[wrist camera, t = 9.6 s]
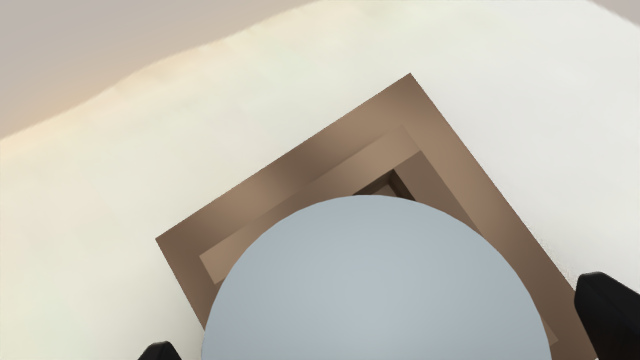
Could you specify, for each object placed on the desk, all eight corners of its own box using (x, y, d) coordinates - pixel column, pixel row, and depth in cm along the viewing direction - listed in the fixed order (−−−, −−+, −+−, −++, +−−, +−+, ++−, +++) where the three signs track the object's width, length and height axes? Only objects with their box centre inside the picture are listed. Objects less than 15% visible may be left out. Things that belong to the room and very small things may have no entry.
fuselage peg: (392, 365, 18) (459, 653, 5) (296, 312, 18) (139, 440, 6) (438, 266, 18) (612, 292, 5) (343, 218, 19) (297, 141, 6)
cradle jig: (322, 518, 18) (305, 614, 13) (169, 239, 21) (110, 235, 16) (595, 338, 18) (679, 368, 13) (407, 85, 21) (419, 34, 16)
